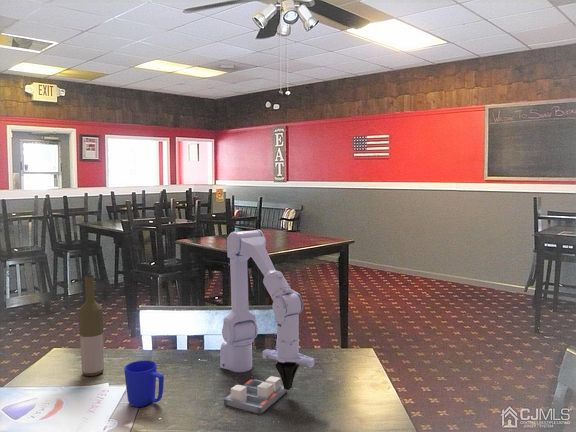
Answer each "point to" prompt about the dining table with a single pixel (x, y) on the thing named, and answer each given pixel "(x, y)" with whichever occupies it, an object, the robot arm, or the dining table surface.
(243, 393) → the tab near
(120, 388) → the dining table surface
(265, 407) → the switch bank
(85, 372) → the bottle
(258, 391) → the tab mid
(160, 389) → the mug
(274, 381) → the tab far
